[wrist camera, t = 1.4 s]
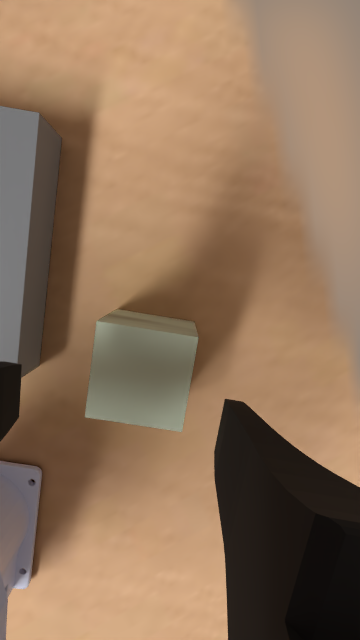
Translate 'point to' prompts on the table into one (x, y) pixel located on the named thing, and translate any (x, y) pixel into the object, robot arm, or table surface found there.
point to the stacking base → (25, 231)
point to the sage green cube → (141, 369)
